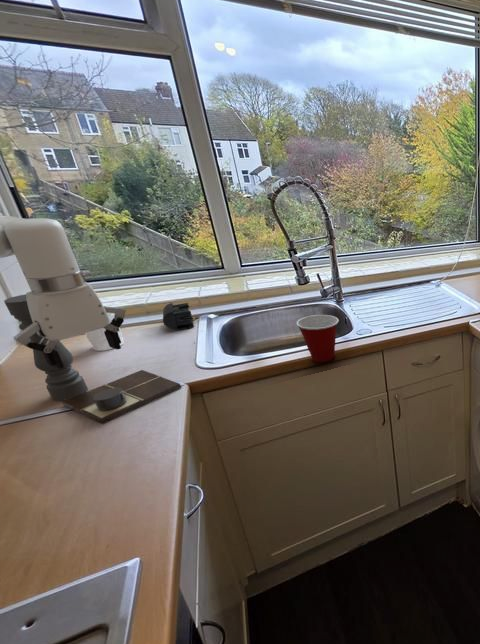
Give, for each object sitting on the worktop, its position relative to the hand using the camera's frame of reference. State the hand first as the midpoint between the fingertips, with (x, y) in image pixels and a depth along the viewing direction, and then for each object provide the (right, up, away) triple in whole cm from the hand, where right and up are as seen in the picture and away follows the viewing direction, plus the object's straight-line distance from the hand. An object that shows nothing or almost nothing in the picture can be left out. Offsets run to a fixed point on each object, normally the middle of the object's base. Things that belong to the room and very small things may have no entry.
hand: (88, 356), depth 88 cm
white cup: (-29, 0, +34) cm, 45 cm away
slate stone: (0, -12, +5) cm, 13 cm away
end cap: (-19, +6, +48) cm, 52 cm away
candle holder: (-16, -10, +11) cm, 22 cm away
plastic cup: (+37, -3, +30) cm, 48 cm away
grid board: (-2, -11, +10) cm, 15 cm away
